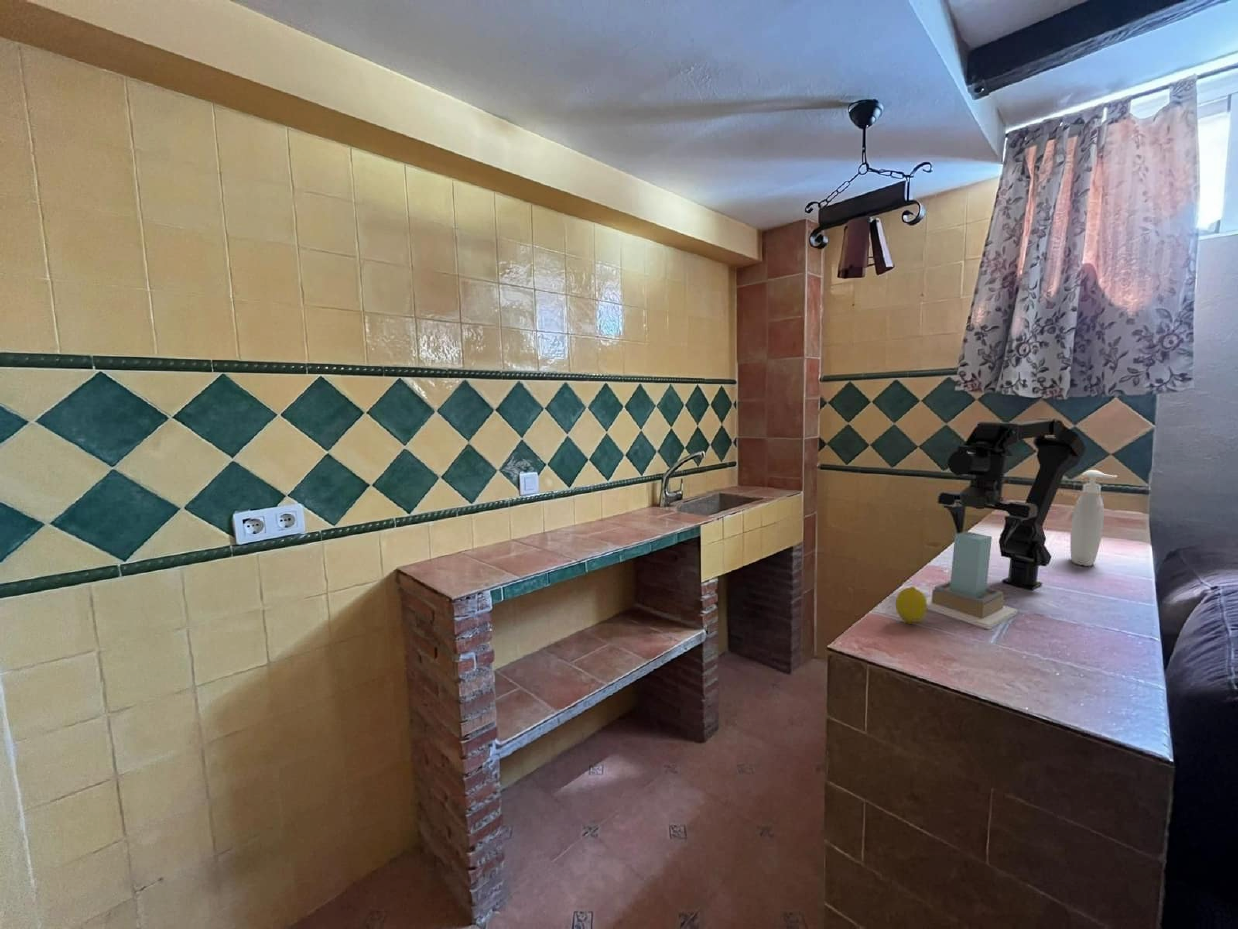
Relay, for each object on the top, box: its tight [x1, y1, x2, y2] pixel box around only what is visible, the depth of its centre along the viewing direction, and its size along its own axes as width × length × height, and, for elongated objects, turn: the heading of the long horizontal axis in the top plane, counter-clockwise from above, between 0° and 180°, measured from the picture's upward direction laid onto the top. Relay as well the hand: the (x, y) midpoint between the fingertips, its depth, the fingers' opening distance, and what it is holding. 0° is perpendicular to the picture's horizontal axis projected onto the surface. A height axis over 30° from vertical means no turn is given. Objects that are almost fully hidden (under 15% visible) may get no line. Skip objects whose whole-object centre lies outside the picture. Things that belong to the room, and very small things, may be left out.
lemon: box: [895, 586, 928, 625], centre depth 104 cm, size 6×6×8 cm
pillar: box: [950, 531, 992, 598], centre depth 110 cm, size 5×5×13 cm
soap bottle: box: [1069, 469, 1118, 567], centre depth 143 cm, size 14×8×27 cm, turn 139°
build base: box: [925, 580, 1018, 630], centre depth 111 cm, size 14×14×5 cm
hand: (980, 539), depth 121 cm, fingers open, 9 cm apart
